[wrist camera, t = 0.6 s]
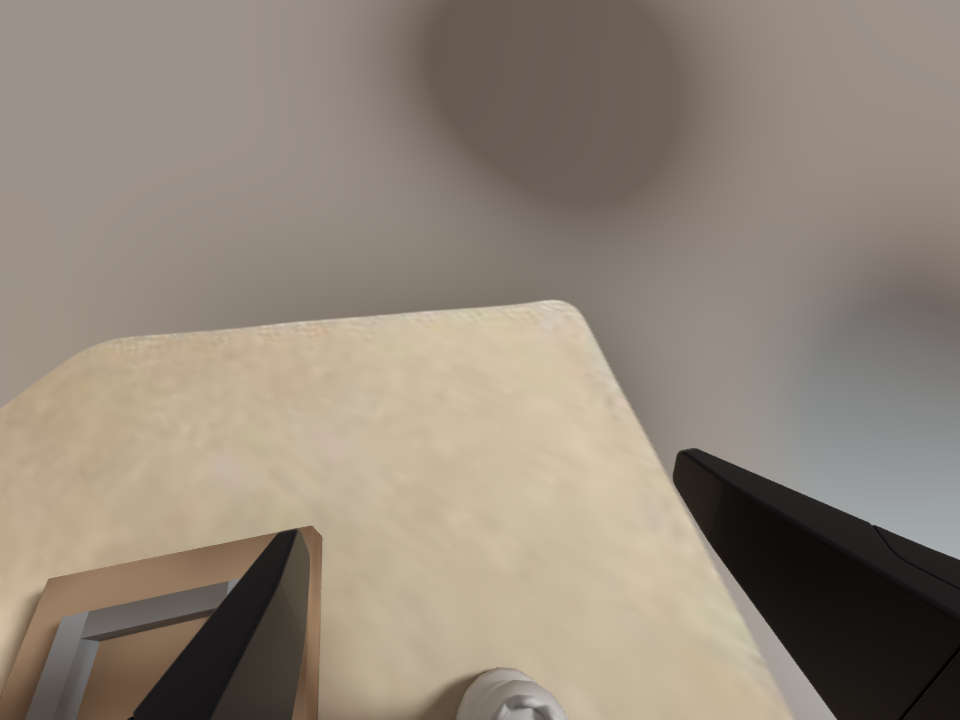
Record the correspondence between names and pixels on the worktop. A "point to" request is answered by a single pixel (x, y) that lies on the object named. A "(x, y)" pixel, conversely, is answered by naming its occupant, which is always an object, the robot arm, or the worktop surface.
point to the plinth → (137, 632)
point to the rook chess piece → (508, 698)
